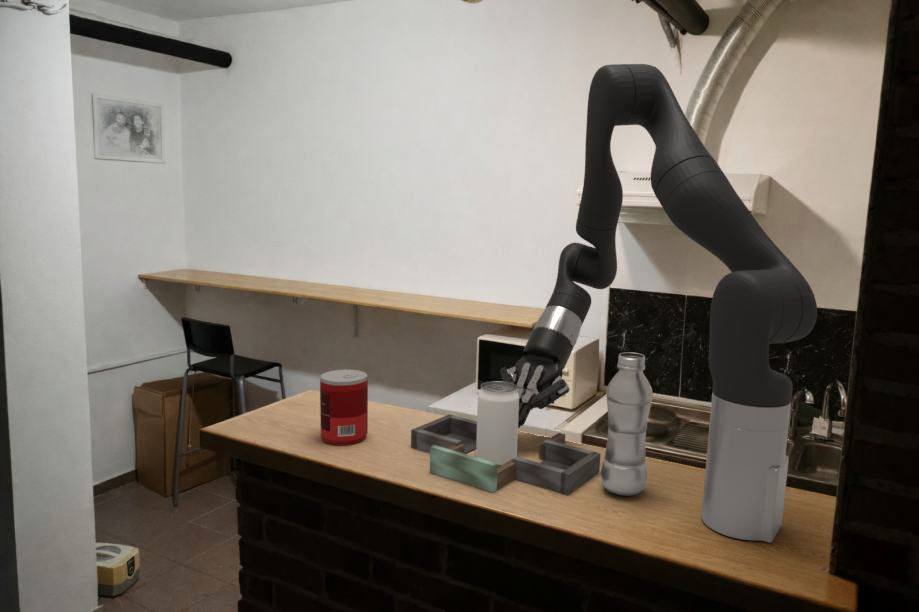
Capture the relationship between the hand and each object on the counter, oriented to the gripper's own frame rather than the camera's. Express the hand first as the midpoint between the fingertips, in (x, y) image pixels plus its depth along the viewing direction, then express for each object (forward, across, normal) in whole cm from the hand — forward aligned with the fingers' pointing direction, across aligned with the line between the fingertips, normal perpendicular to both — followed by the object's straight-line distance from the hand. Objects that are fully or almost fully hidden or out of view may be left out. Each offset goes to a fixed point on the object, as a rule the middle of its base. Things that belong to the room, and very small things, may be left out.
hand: (512, 425), depth 113 cm
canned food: (+12, -26, -5) cm, 29 cm away
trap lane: (+6, 0, +1) cm, 6 cm away
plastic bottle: (+5, +20, +2) cm, 21 cm away
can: (+6, -1, +1) cm, 6 cm away
